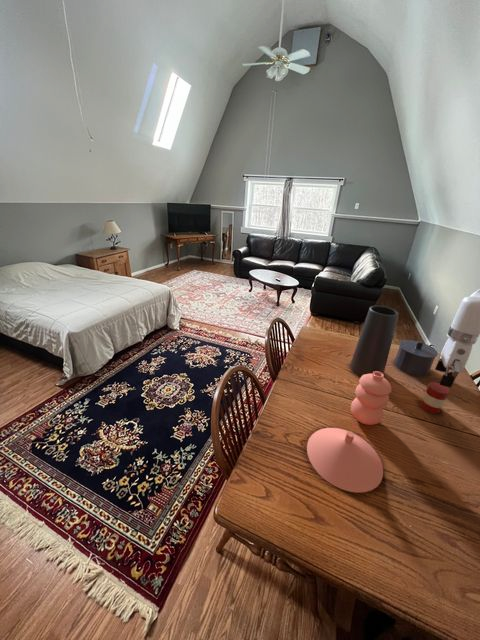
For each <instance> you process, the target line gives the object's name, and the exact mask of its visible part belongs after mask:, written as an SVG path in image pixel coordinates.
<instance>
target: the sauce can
mask: <svg viewBox="0 0 480 640" xmlns="http://www.w3.org/2000/svg"><path fill="white" fill-rule="evenodd" d="M449 394H450V389H449V387H446V386H442V385H440V382H434V381H431V382H429V383H428V385H427V387H426V389H425V391H424V393H423V396H422V398H421V401H420V406H421V407H422V408H423V409H424V410H425V411H427V412H429V413H432V414H439V413H441V411H442V408H443V407H444V405H445V403H446V400H447V399H448V396H449Z"/></svg>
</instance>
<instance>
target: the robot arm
mask: <svg viewBox="0 0 480 640" xmlns="http://www.w3.org/2000/svg"><path fill="white" fill-rule="evenodd" d="M451 322H452V323H451V324H450V327H449V328H448V331H447V334H446V336H447V339H446V341H445V344H444V345H443V347H442V350H441V352H440V356H439V359H438V361H437V364H436V366H435V368H434V370H435V371H437V372H442V373H443V374H442V376H441V379H440V381H439V384H440V385H442V386H445V387H447V388H448V389H449V388H452V386H453V385H454V383H455V380H456V379H457V377H458V375H459V373H462V372H463V371H464V369H465V367H466V365H467V363H468V360H469V358H470V355H471V352H472V349H473V345H475V344H476V343H477V341H478V339H479V337H480V288H479V289H477V290H475V291H474V292H473V293H472V294H470V295H469V296H465V297H463V299H462V300H461V302H460V304H459V306H458V308H457V311H456V313H455V315H454V318H453V320H452V321H451Z"/></svg>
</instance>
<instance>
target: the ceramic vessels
mask: <svg viewBox="0 0 480 640" xmlns="http://www.w3.org/2000/svg"><path fill="white" fill-rule="evenodd" d="M358 382H359V383H358V384H357V386H356V387H355V396H356V397H355V398H354V399H353V400H352V402H351V404H350V412H351V414H352V416H353V417H354V419H355V420H356V421H358V422H360V423H361V424H364V425H368V426H373V425H377V424H379V423H380V422H381V421H382V420H383V417H384V407H386V406H387V404H388V403H389V401H390V396H389V394H390V393H391V392H392V385H391V383H390V382H389V380H387V379H386V378H385V375H384V374H383V373H381V372H378V371H374V372H373V374H365V375H363V376H362V377H360V378H359V380H358ZM306 453H307V457H308V459H309V463H310V464H311V466H312V468H313V469H314V470H315V471H316V472H317V474H318V475H319V476H320V477H321V478H322V479H324V481H326V482H327V483H329V484H331V485H332V486H334V487H336V488H338V489H340V490H343V491H346V492H351V493H356V494H358V493H360V494H361V493H367V492H370V491H373V490H375V489H376V488H377V487H378V486H379V485H380V484H381V483H382V480H383V477H384V467H383V462H382V460H381V458H380V456H379V454H378V452H377V451H376V450H375V448H373V446H372V445H371V444H369V442H367V441H366V440H364V439H363V438H362V437H361V436H359V435H357V434H356V433H354V432H353V431H351V430H347V429H343V428H339V427H325V428H320V429H318V430H316V431H315V432H313V433H312V434H311V435H310V437H309V438H308V440H307V444H306Z"/></svg>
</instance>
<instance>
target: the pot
mask: <svg viewBox="0 0 480 640" xmlns="http://www.w3.org/2000/svg"><path fill="white" fill-rule="evenodd" d="M435 359H436V357H435V358H422V357H418V356H414V355H412V354H409V353H407V352H406V351H404V350H403V349H401V347H400V346H399V347H398V350H397V352H396V356H395V359H394V362H393V363H394V366H395V367H396V368H397V369H399V370H400V371H402V372H404V373H406V374H408V375H412V376H416V377H425V376H428V374H429V373H430V370H431V368H432V367H433V364H434V361H435Z"/></svg>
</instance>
